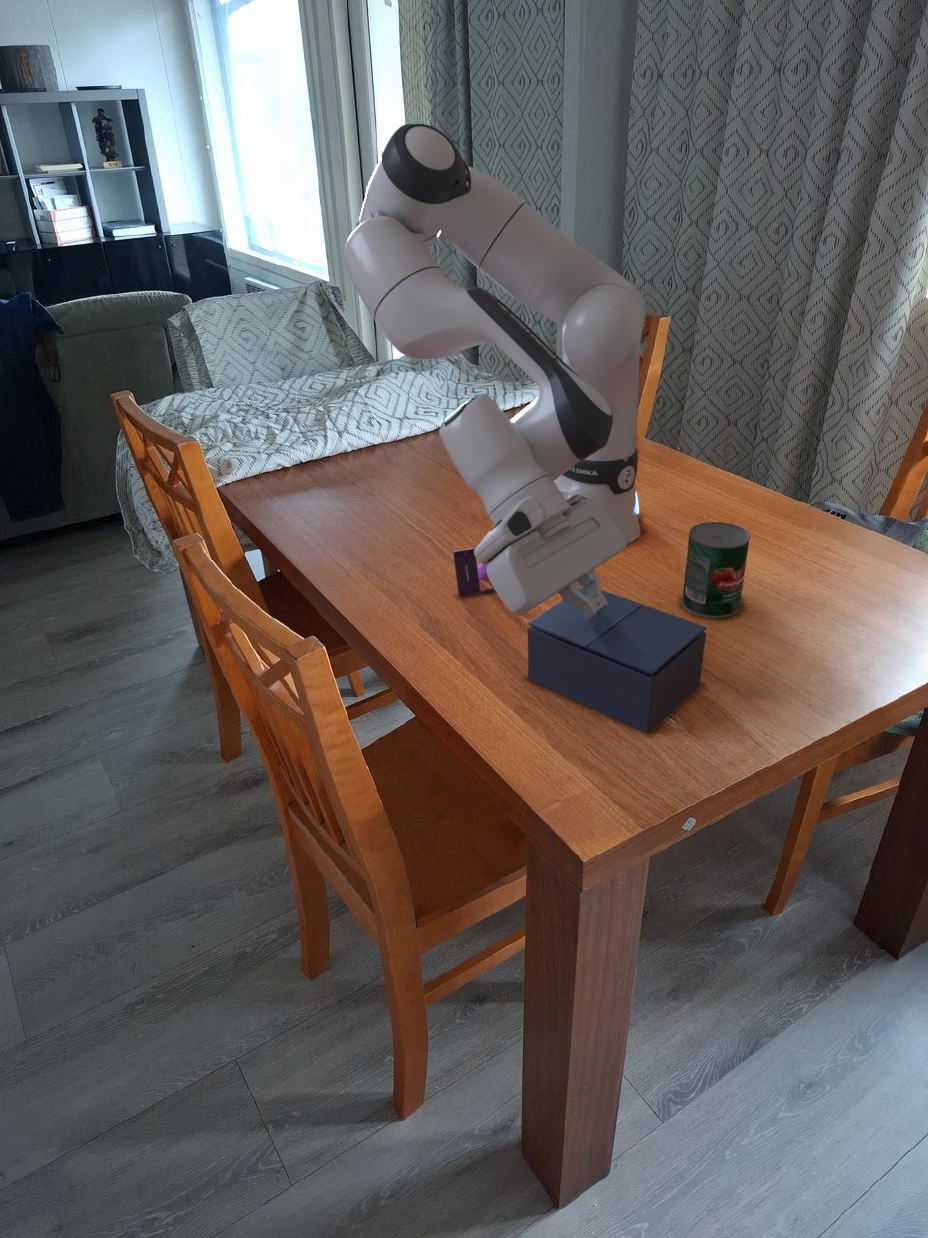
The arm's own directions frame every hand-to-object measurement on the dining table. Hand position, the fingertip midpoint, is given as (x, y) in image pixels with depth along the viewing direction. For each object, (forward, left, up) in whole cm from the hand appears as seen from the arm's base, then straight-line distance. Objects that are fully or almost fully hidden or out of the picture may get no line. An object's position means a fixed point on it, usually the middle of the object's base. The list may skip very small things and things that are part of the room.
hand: (598, 612), depth 98 cm
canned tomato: (-1, +24, -9) cm, 26 cm away
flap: (-2, 0, -1) cm, 2 cm away
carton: (+3, 0, -9) cm, 9 cm away
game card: (-27, +4, -9) cm, 29 cm away
